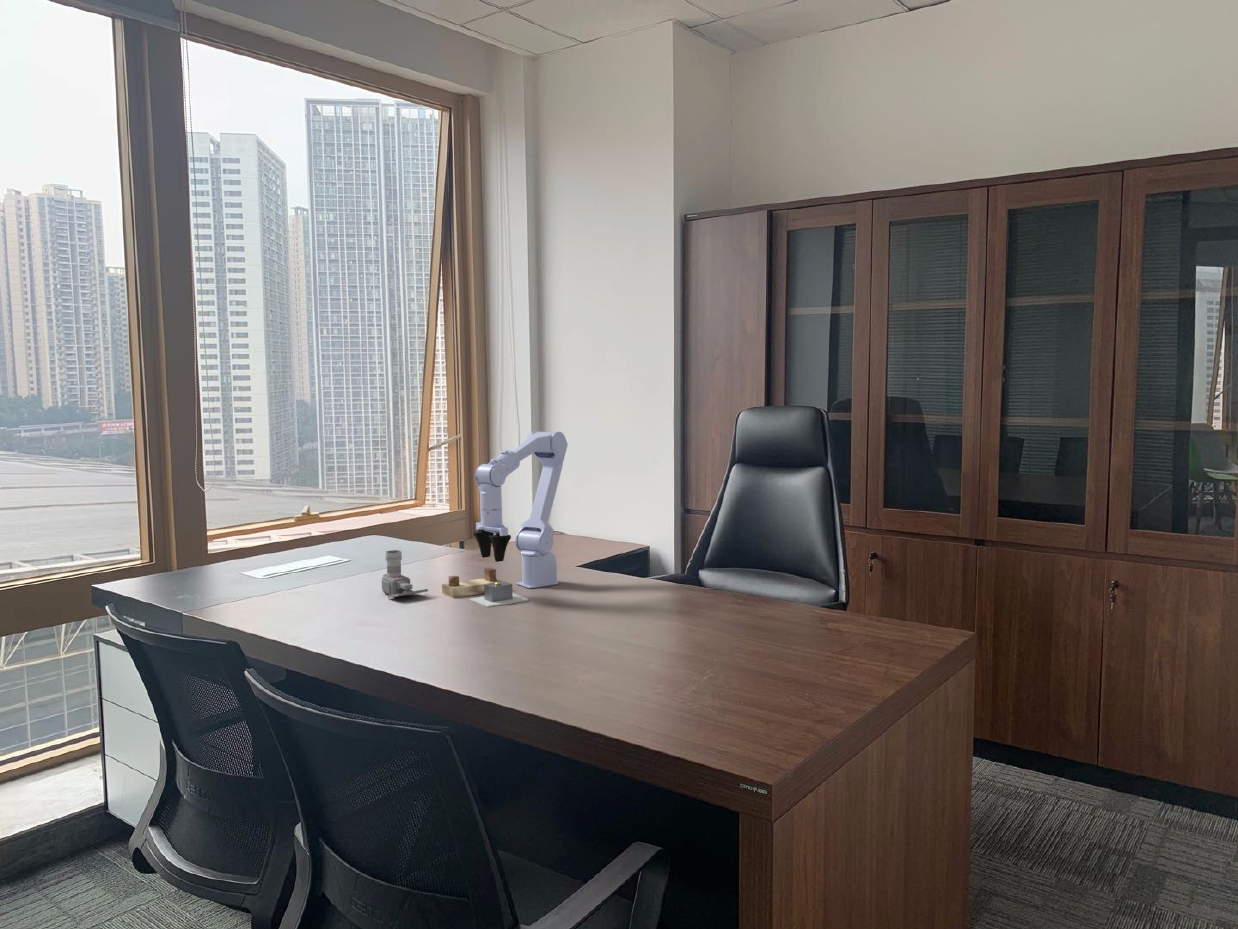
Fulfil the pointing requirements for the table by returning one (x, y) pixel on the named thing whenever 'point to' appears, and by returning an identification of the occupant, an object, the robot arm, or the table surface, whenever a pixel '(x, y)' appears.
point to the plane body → (468, 585)
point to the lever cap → (498, 591)
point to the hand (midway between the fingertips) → (492, 559)
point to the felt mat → (489, 604)
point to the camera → (396, 577)
